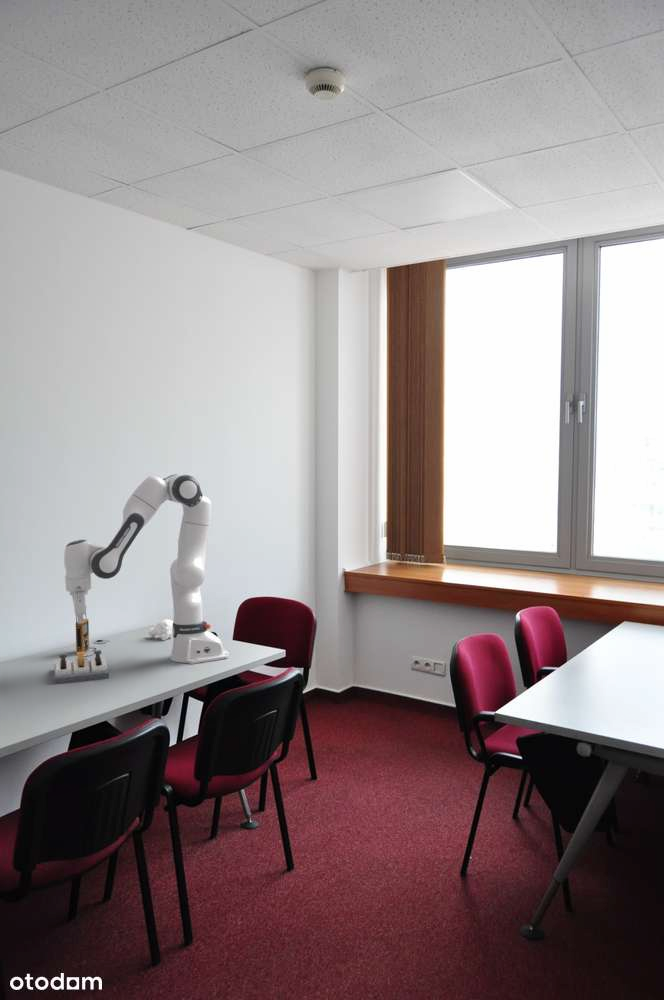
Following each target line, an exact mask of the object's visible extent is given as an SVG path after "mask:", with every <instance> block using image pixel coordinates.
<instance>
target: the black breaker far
mask: <svg viewBox="0 0 664 1000" xmlns="http://www.w3.org/2000/svg"><path fill="white" fill-rule="evenodd" d="M66 658H67V653H59V659H60V660H61V668H64V667H65V660H66Z"/></svg>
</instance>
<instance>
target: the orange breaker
mask: <svg viewBox="0 0 664 1000" xmlns="http://www.w3.org/2000/svg"><path fill="white" fill-rule="evenodd" d="M76 655H77V657H78V658H79V666H83V658H84V657H83V656H85V653H84V652H76ZM78 658H77V659H78Z"/></svg>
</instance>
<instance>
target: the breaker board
mask: <svg viewBox="0 0 664 1000" xmlns="http://www.w3.org/2000/svg"><path fill="white" fill-rule="evenodd" d="M109 672H110V671H109V669H108V664H107V661H106V656H105V655H100V664H96V656H89V658H88V657H83V666H79V658H73V659H72V661H71V658H70V659H65V667H64V668H61V659H60V660H55V664H54V684H55V685H57V684H58V685H59V684H68V683H76V682H77V683H78V682H86V681H97V680H104V679H109V678H110V673H109Z"/></svg>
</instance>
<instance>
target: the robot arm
mask: <svg viewBox="0 0 664 1000" xmlns="http://www.w3.org/2000/svg"><path fill="white" fill-rule="evenodd" d="M166 501H170V502H174V503H177V504H181V506H182V510H183V514H182V517H181V524H180V529H179V533H178V539H177V558H176V559H175V560H173V561H172V563H171V565H170V569H169V572H170V573H169V574H170V585H171V587H170V588H171V594H172V605H173V608H172V609H173V626H172V633H173V635H172V638H173V641H172V647H171V648H172V649H171V655H170V661H173V662H176V663H184V664H191V665H193V664H198V663H199V664H200V663H205V662H212V661H217V660H218V661H219V660H224V658H225V659H228V658H229V657H230V653H229V651H228V650H226V649H225V648H224V647H223V646H224V645H223V643H222V642H223V641H222V640H221V638H219V637H218V636H217V635H215V634H214V633H212V632H211V631H210V630H209V629H211V624H210V623H209V622H206V621H205V620H203V598H202V593H201V585H202V584H203V583H204V581H205V577H206V574H205V572H206V565H207V564H206V563H207V546H208V540H209V534H210V527H211V523H212V512H213V511H212V505H213V504H212V501H211V500H210V498H208V497H207V496H205V495H203V493H202V490H201V485H200V483H199V481H198V479H196V478H195V477H194V476H191V475H189V474H184V473H178V474H177V473H176V474H171V475H169V476H166V477H165V478H161V477H159V476H155V475H151V476H148V477H146V478H145V479H144V480H143V481H142V482H141V483H140V484H139V485H138V486H137V487H136V489H135V490H134V491H133V492H132V493H131V495H130V496H129V498H128V500H127V501H126V503H125V505H124V507H123V509H122V523H121V526H120V528H119V530H118V531H117V533H116V534H115V535H114V537H113V539H112V540H111V541H110V543H109V544H108V546H106V547H104V546H99V545H96V544H94V543H91V542H89V541H88V540H86V539H78V540H74V541H71V542H69V543H67V544H66V545H65V548H64V561H63V562H64V568H65V575H64V579H65V580H64V581H65V582H64V584H65V591H66V592H69V596H71V599H72V602H73V608H74V614H75V616H76V615H77V622H78V623H83V619H84V615H85V614H86V615H87V606H86V605H85V604H86V595H88V594H89V590H91V589H92V574H94V575H95V576H96V577H98V578H100V579H105V580H108V579H111V578H112V579H113V578H114V577H116V576H117V575H118V573H120V570H121V568H122V565H123V559H124V557H125V554H126V553H127V552H128V549H129V548H130V546H131V545H132V544H133V542H134V540H135V539H136V537H137V536H138V535H139V534H140V532H141V530H143V528H144V527H146V525H147V524H148V523H149V522H150V520H151V519H153V517H154V516H155V514H157V512H158V510H159V509H160V507H161V506H162V504H164V503H165V502H166Z"/></svg>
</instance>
